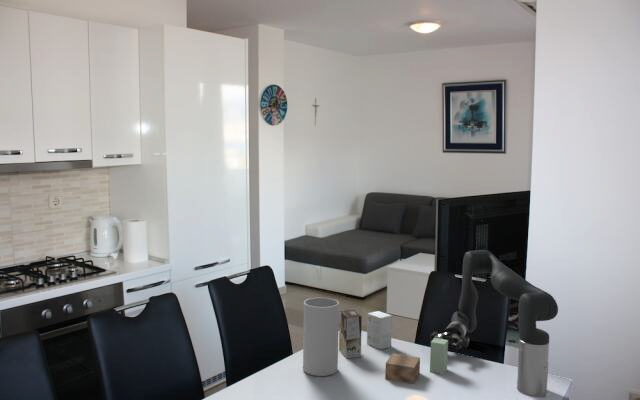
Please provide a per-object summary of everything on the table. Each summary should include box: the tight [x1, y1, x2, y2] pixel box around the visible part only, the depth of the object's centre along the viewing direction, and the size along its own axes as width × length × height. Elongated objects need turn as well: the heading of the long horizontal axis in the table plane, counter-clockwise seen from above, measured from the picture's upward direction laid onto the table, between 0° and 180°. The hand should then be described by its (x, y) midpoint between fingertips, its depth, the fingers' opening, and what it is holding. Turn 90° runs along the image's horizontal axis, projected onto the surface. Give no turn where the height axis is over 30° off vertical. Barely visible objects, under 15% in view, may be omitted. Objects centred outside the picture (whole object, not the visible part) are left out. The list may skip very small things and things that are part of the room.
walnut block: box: [384, 353, 421, 385], centre depth 198 cm, size 10×10×6 cm
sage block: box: [429, 338, 449, 375], centre depth 203 cm, size 5×5×11 cm
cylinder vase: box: [302, 297, 340, 377], centre depth 201 cm, size 12×12×25 cm
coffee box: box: [338, 309, 363, 359], centre depth 218 cm, size 9×6×16 cm
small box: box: [366, 310, 393, 350], centre depth 228 cm, size 8×6×13 cm
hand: (445, 345), depth 211 cm, fingers open, 8 cm apart
